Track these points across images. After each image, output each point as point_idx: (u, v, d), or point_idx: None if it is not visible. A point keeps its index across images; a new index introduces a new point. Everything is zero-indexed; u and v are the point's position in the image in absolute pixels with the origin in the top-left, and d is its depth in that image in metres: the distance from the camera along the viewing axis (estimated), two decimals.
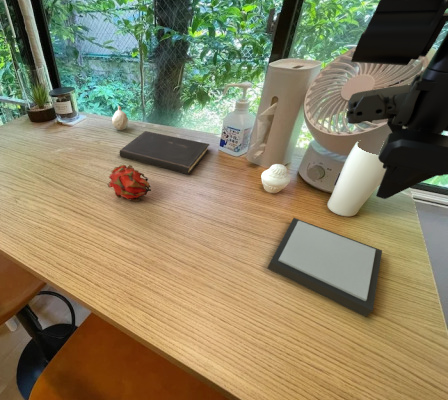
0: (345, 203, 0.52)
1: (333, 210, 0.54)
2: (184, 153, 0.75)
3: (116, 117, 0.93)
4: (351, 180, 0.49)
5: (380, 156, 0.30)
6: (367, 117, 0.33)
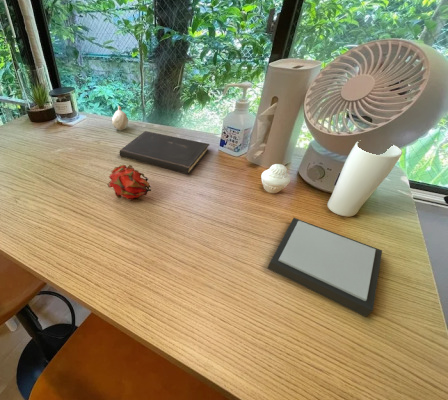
0: (345, 203, 0.52)
1: (333, 210, 0.54)
2: (184, 153, 0.75)
3: (116, 117, 0.93)
4: (351, 180, 0.49)
5: None
6: None
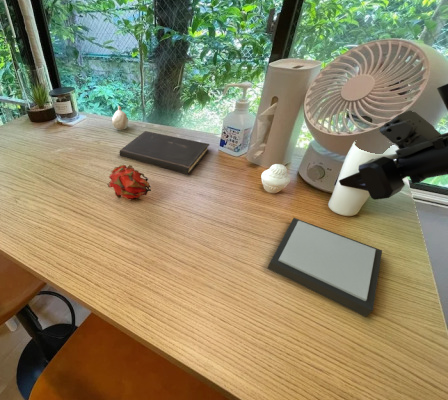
0: (345, 202, 0.52)
1: (334, 210, 0.54)
2: (184, 153, 0.75)
3: (116, 117, 0.93)
4: None
5: (360, 165, 0.42)
6: (389, 136, 0.41)
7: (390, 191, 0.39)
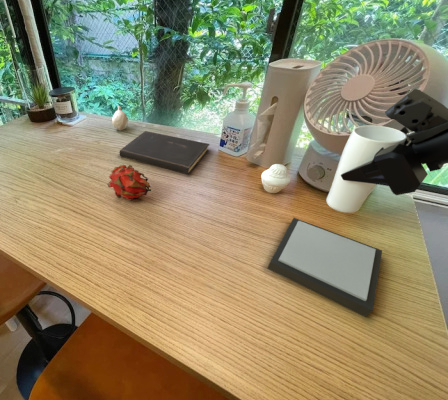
0: (349, 199, 0.46)
1: (335, 207, 0.48)
2: (184, 153, 0.75)
3: (116, 117, 0.93)
4: None
5: (376, 157, 0.35)
6: (402, 120, 0.35)
7: (417, 184, 0.33)
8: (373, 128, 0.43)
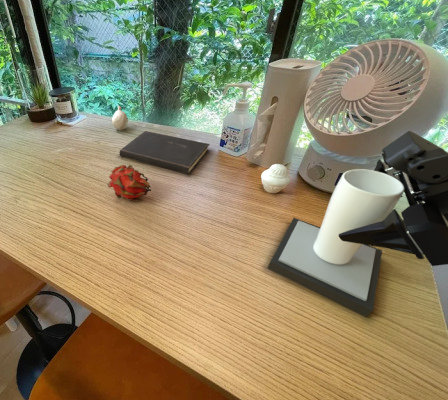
0: (346, 252, 0.39)
1: (330, 261, 0.42)
2: (184, 153, 0.75)
3: (116, 117, 0.93)
4: None
5: (409, 227, 0.28)
6: (421, 175, 0.28)
7: None
8: (356, 172, 0.37)
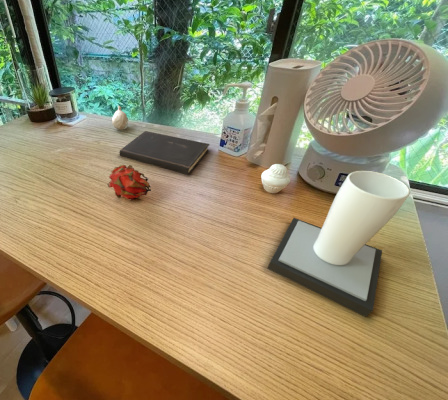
0: (347, 253, 0.39)
1: (330, 262, 0.42)
2: (184, 153, 0.75)
3: (116, 117, 0.93)
4: (357, 230, 0.36)
5: None
6: None
7: None
8: (360, 174, 0.37)
